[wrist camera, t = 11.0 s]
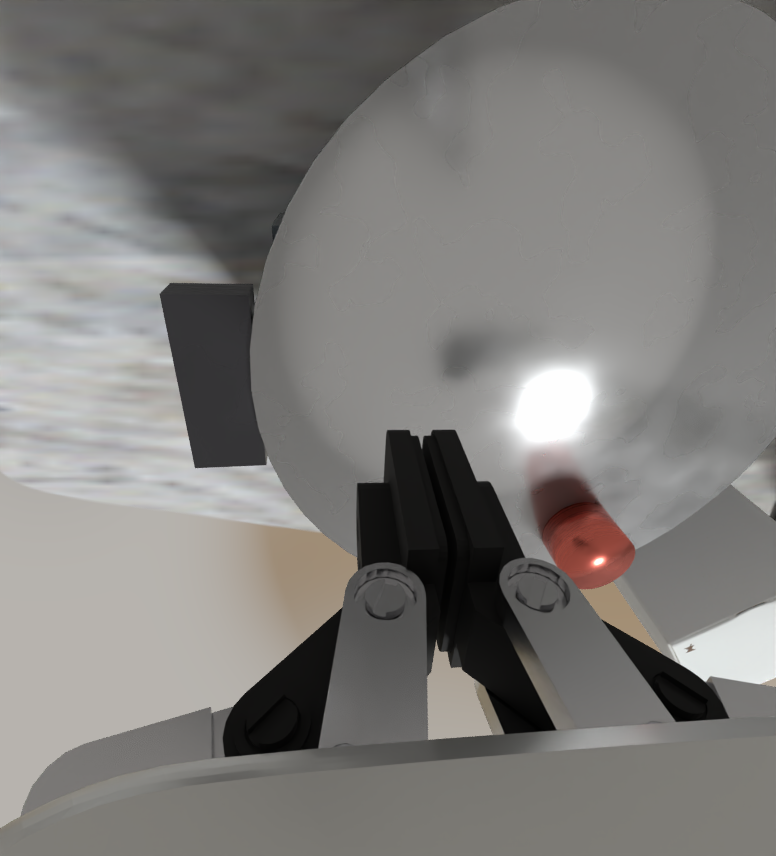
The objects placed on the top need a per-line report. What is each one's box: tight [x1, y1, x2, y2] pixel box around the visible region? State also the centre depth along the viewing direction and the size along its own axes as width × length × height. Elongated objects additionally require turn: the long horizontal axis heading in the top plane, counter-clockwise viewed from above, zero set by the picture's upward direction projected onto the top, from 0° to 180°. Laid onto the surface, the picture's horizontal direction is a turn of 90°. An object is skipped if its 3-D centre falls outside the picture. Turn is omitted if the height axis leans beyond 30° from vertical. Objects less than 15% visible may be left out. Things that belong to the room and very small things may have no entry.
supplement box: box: [613, 484, 776, 684], centre depth 32 cm, size 9×9×15 cm
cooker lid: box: [160, 0, 776, 589], centre depth 16 cm, size 23×21×4 cm
